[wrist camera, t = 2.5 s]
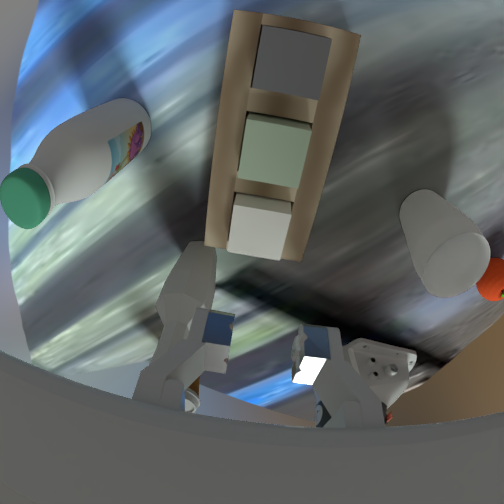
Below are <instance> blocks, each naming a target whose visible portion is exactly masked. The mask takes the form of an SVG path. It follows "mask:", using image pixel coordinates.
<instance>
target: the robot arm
mask: <svg viewBox="0 0 504 504" xmlns="http://www.w3.org/2000/svg"><path fill="white" fill-rule="evenodd" d="M234 318H235V314H232V313H226V312H221V311H216V310H211V309H205V308H200V307H196V309H195V312H194V316H193V319H192V323H191V327H190V330H189V334H188V338H187V339H182V340H181V341H180V342H178V343H177V344H176V345H175V346H173V347H172V348H171V349H169V350H168V351H167V352H165V353H164V354H163V355H162V356H160V357H159V358H158V359H156V360H155V361H154V362H152V363H151V364H150V365H149V366H147V367H146V368H145V369H143V370H142V371H141V373H140V376H139V379H138V382H137V385H136V388H135V391H134V394H133V397H132V399H130V398H126V397H123V396H119V395H116V394H112V393H109V392H106V391H102V390H99V389H96V388H93V387H90V386H86V385H84V384H81V383H78V382H75V381H72V380H70V379H67V378H64V377H61V376H59V375H56V374H54V373H51V372H48V371H46V370H43V369H41V368H39V367H36V366H34V365H31V364H29V363H27V362H24V361H22V360H20V359H18V358H15V357H13V356H11V355H9V354H7V353H5V352H2V351H0V504H504V412H501V413H496V414H491V415H486V416H481V417H475V418H470V419H463V420H456V421H449V422H442V423H434V424H424V425H413V426H399V427H385V425H386V424H387V423H388V421H389V420H390V419H391V418H392V417H393V416H391V415H392V412H390V413H389V414H388V415H387V414H386V411H387V408H388V407H389V406H391V405H392V404H393V403H394V402H395V401H396V399H398V397H399V396H400V395H401V394H402V393H403V392H404V390H405V389H406V387H407V385H408V382H409V372H410V370H411V369H412V368H413V366H414V364H415V362H416V358H417V356H416V351H414V350H410V349H405V348H401V347H397V346H393V345H388V344H384V343H380V342H376V341H372V340H368V339H364V338H358V339H356V340H354V341H352V342H350V343H348V344H347V345H344V346H342V343H341V336H340V330H339V329H338V328H334V327H325V326H317V325H308V324H301V325H300V327H299V330H298V332H299V335H298V336H296V337H295V340H294V343H293V347H292V360H293V361H294V365H293V367H292V382H295V383H303V384H312V386H313V389H314V393H315V398H316V404H317V405H316V410H315V423H316V427H300V426H285V425H274V424H264V423H254V422H247V421H246V422H245V421H239V420H232V419H225V418H218V417H212V416H206V415H200V414H195V413H190V412H185V390H186V389H187V388H188V387H189V386H190V385H191V384H192V383H193V382H194V381H195V380H196V379H197V378H198V377H199V376H200V375H201V374H202V373H203V372H204V370H205V371H212V372H219V373H226V368H227V362H228V357H229V350H230V344H231V338H232V331H233V325H234ZM390 416H391V417H390Z"/></svg>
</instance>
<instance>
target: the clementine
mask: <svg viewBox="0 0 504 504" xmlns="http://www.w3.org/2000/svg"><path fill="white" fill-rule="evenodd" d="M476 285H477V289H478V291H479V293H480V294H481V295H482V297H484V298H485V299H487V300H490V301H498V300H501V299H503V298H504V260H503V259H500V258H490V261H489V264H488V267H487V269H486V271H485V273H484V274H483V276H482V277H481V278H480V280H479V281H478V282H477V283H476Z"/></svg>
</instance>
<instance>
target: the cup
mask: <svg viewBox="0 0 504 504" xmlns="http://www.w3.org/2000/svg"><path fill="white" fill-rule="evenodd" d="M399 218H400V222H401V225H402V228H403V232H404V235H405V238H406V241H407V245H408V248H409V251H410V255H411V258H412V262H413V265H414V268H415V270H416V272H417V274H418V276H419V277H420V279H421V280H422V282H423V284H424V286H425V288H426V289H427V291H428V292H429V293H430V294H432V295H434V296H436V297H441V298H448V297H453V296H456V295H459V294H461V293H463V292H465V291H467V290H468V289H470V288H471V287H472V286H474V285H475V284H476V283H477V282H478V281H479V280H480V278H481V277H482V276H483V274H484V273H485V271H486V269H487V267H488V264H489V261H490V246H489V243H488V241H487V240H486V239H485V237H484V236H483V234H482V233H481V231H480V230H479V228H478V227H477V225H476V224H475V223H474V222H473V221H472V220H471V219H470V218H469V217H467V216H466V215H465V214H463V213H462V212H461V211H460V210H458V209H457V208H456V207H454V206H453V205H452V204H450V203H449V202H448V201H446V200H445V199H443V198H442V197H441V196H439V195H438V194H436V193H435V192H433V191H431V190H427V189H423V190H418V191H415V192H413V193H412V194H410V195H409V196H408V197H407V198H406V199H405V200H404V202H403V203H402V205H401V208H400V212H399Z"/></svg>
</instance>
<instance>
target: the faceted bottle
mask: <svg viewBox="0 0 504 504" xmlns="http://www.w3.org/2000/svg"><path fill="white" fill-rule="evenodd" d="M216 262H217V256H216V252H215V247H210V246H204V241H191V242H189V244H188V245H187V247H186V248H185V250H184V252H183V253H182V255H181V256H180V258H179V259H178V261H177V263H176V264H175V266H174V267H173V269H172V271H171V272H170V274H169V276H168V278H167V280H166V281H165V283H164V286H163V288H162V291H161V293H160V296H159V298H158V301H157V303H156V306H155V307H156V309H157V311H158V314H159V316H160V318H161V321H162V323H163V325H164V327H163V330H162V333H161V336H160V339H159V342H158V345H157V348H156V351H155V353H154V355H153V357H152V359H151V362H150V364H151V363H152V362H154V361H155V360H156V359H158V358H159V357H160V356H162V355H163V354H164V353H165V352H167V351H168V350H169V349H171V348H172V347H173V346H175V345H176V344H177V343H178V342H180V341H181V340H182V339H187V338H188V334H189V330H190V327H191V323H192V319H193V316H194V312H195V309H196V307H200V308H205V309H211V307H212V303H213V298H214V294H215V278H216ZM150 364H149V365H150Z"/></svg>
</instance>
